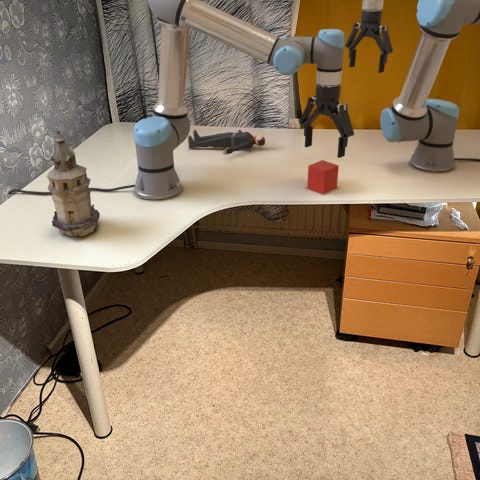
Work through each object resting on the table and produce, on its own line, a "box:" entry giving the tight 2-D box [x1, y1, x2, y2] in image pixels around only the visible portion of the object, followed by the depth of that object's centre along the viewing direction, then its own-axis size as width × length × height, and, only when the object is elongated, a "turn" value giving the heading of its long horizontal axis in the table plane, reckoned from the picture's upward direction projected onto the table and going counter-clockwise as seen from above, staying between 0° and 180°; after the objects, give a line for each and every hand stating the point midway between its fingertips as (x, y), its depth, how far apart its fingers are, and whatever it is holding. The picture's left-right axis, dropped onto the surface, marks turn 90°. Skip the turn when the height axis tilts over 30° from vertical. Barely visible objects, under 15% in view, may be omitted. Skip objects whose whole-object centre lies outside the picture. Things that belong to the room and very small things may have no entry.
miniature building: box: [46, 129, 101, 237], centre depth 148 cm, size 13×14×30 cm
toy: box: [187, 129, 266, 156], centre depth 213 cm, size 26×6×30 cm
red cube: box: [306, 159, 340, 195], centre depth 177 cm, size 7×7×8 cm
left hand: (324, 151), depth 172 cm, fingers open, 13 cm apart
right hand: (366, 69), depth 207 cm, fingers open, 13 cm apart
